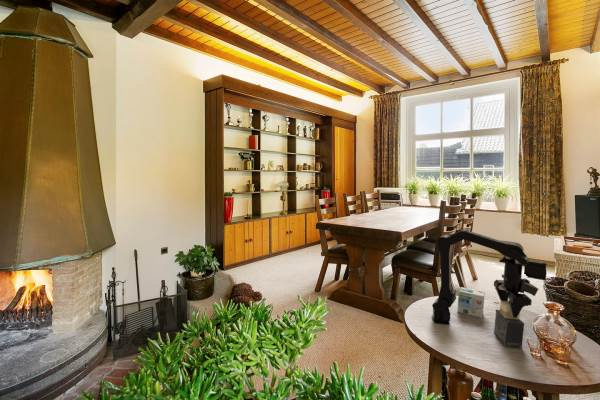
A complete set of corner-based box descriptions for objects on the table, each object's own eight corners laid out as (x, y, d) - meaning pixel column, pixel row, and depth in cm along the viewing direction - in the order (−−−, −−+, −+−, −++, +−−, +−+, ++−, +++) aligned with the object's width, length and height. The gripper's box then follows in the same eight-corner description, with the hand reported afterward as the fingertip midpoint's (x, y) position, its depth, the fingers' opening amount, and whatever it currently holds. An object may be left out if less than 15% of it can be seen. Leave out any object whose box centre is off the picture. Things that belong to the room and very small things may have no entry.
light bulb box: (457, 312, 146) (458, 290, 145) (458, 307, 152) (460, 286, 151) (482, 318, 140) (484, 296, 139) (483, 312, 146) (485, 291, 144)
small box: (523, 349, 116) (525, 323, 115) (504, 347, 117) (506, 321, 116) (510, 334, 126) (512, 310, 125) (493, 332, 128) (494, 309, 127)
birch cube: (505, 318, 119) (506, 306, 119) (499, 312, 124) (500, 300, 123) (519, 319, 118) (520, 307, 117) (513, 313, 123) (514, 301, 122)
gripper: (549, 285, 108) (546, 326, 110) (524, 268, 126) (521, 304, 128) (514, 282, 111) (511, 322, 112) (494, 266, 129) (491, 301, 131)
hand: (509, 312), depth 121 cm, fingers open, 9 cm apart
